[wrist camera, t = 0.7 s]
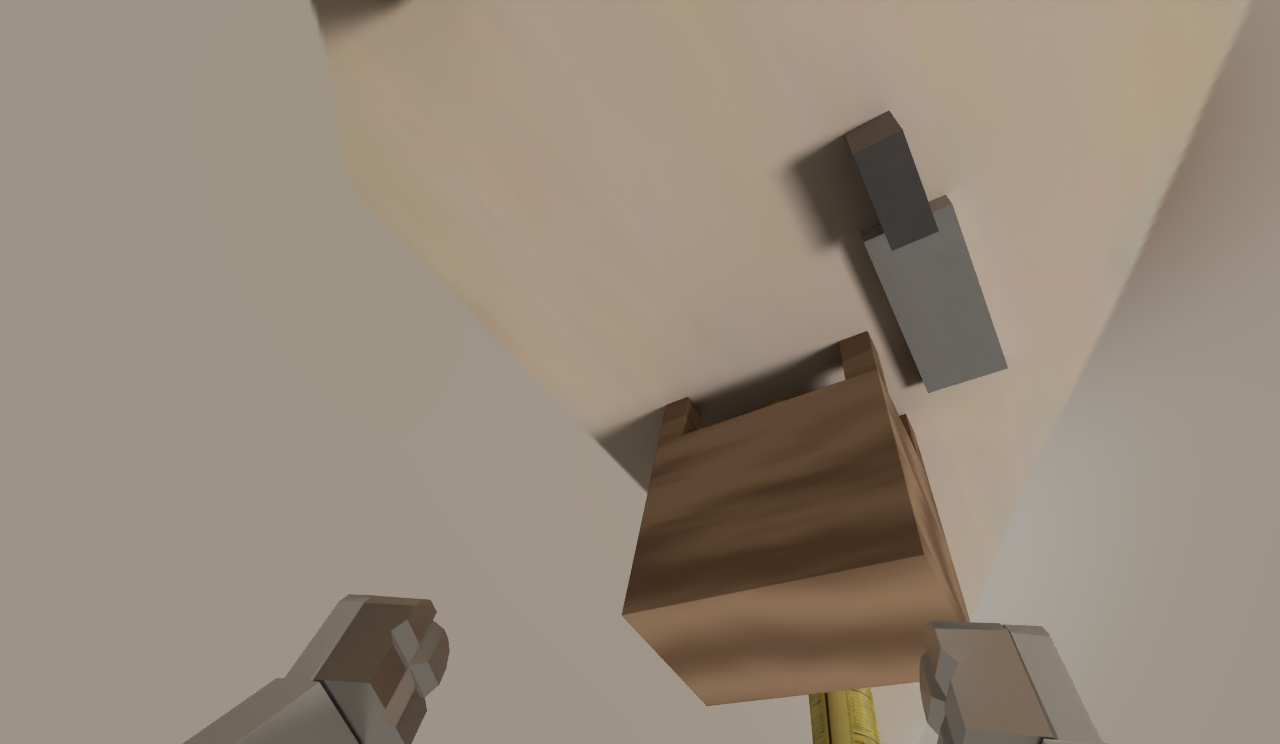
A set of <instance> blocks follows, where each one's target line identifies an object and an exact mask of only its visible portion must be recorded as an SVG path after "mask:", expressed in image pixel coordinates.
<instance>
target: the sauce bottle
mask: <svg viewBox="0 0 1280 744" xmlns="http://www.w3.org/2000/svg"><path fill="white" fill-rule="evenodd" d="M809 704H810V713H811V714H810V715H811V725H812V735H813V744H880V739H879V733H878V727H877V721H876V716H875V710H874V704H873V698H872V692H871V687H869V688H860V689H851V690H843V691H834V692H825V693H816V694H809Z"/></svg>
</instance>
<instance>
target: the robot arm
mask: <svg viewBox="0 0 1280 744" xmlns="http://www.w3.org/2000/svg"><path fill="white" fill-rule="evenodd" d="M436 613H437V612H436V610H435V608H434V606H433V604H432V602H431V600H427V599H412V598H399V597H398V598H397V597H384V596H372V595H352V594H349V595H347V596H346V597H345V598H343V599H342V600H340V601H339V602H338V604H337V605H336V606H335V608H334V609H333V611H332V612H331V614H330V615H329V616H328V618H327V619H326V621H325V622H324V623H323V625H322V626H321V628H320V629H319V630H318V632H317V633H316V635H315V636H314V638H313V639H312V640H311V642H310V643H309V644H308V646H307V647H306V649H305V650H304V651H303V653H302V654H301V656H300V657H299V658H298V660H297V661H296V663H295V664H294V666H293V667H292V668H291V670H290V671H289V672H288V674H287V675H286V677H285V678H276V679H275V680H274V681H272V682H270V683H269V684H268V685H266V686H265V687H263V688H262V689H260V690H259V691H258V692H256V693H255V694H253V695H252V696H251V697H249V698H247V699H246V700H245V701H243V702H242V703H241V704H239V705H237V706H236V707H235V708H233V709H232V710H230V711H229V712H227V713H226V714H225V715H223V716H222V717H220V718H219V719H217V720H216V721H214V722H213V723H212V724H210V725H209V726H207V727H206V728H205V729H203V730H202V731H200V732H199V733H197V734H196V735H194V736H193V737H192V738H190V739H189V740H187V741H186V742H184V743H183V744H411V743H412V741H413V739H414V737H415V735H416V733H417V730H418V728H419V726H420V724H421V722H422V720H423V718H424V716H425V714H426V712H427V708H426V702H425V696H427V695H428V694H429V693H430V692H431V691H433V690H434V689H435V688H436V687H437V686H438V685H439V684H440V681H441V679H442V677H443V675H444V672H445V670H446V666H447V661H448V656H449V642H448V637H447V635H446V632H445V630H444V629H443V628H442V627H441V626H439V625H438V624H437V623H436V622H434V621H433V619H434V617H435V614H436ZM924 639H925V643H926V646H927V650H928V651H927V652H926V653H925V654H923V655H922V656H921V660H920V669H919V676H920V691H921V697H922V703H923V708H924V712H925V716H926V720H927V723H928V724H929V725H930V726H931V728H932V729H933V730H934V731H935V732H936V733H937V734H938V735H939V737H938V742H937V744H1105V743H1103V741H1102V738H1101V736H1100V734H1099V732H1098V731H1097V728H1096V726H1095V724H1094V722H1093V720H1092V718H1091V716H1090V714H1089V712H1088V710H1087V708H1086V706H1085V704H1084V702H1083V700H1082V698H1081V696H1080V694H1079V692H1078V690H1077V688H1076V686H1075V684H1074V682H1073V680H1072V678H1071V676H1070V674H1069V672H1068V670H1067V668H1066V666H1065V664H1064V662H1063V660H1062V658H1061V656H1060V654H1059V652H1058V650H1057V648H1056V646H1055V644H1054V642H1053V640H1052V638H1051V636H1050V634H1049V633H1048V632H1047V631H1046V630H1045V629H1044V628H1043V627H1042V626H1027V625H1001V624H999V623H969V622H937V621H929V622H928V623H927V625H926V628H925V634H924Z"/></svg>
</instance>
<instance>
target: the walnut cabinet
mask: <svg viewBox="0 0 1280 744" xmlns="http://www.w3.org/2000/svg"><path fill="white" fill-rule="evenodd" d="M839 345H840V351H841V357H842V363H843V368H844V374H845V380H844V381H842V382H839V383H836V384H833V385H830V386H827V387H824V388H821V389H818V390H815V391H812V392H809V393H806V394H803V395H800V396H797V397H794V398H791V399H788V400H785V401H782V402H779V403H776V404H773V405H771V406H768V407H765V408H762V409H759V410H756V411H753V412H750V413H747V414H744V415H741V416H738V417H735V418H732V419H729V420H726V421H723V422H720V423H717V424H714V425H711V426H708V427H705V428H702V429H700V430H699V423H700V416H701V415H700V414H699V412H698V411H697V409H696V408H695V406H694V405H693V403H692V402H691V400H690V399H689V397H687V398H685V399H682V400H679V401H677V402H674V403H671V404H668V405H667V406H666V410H665V415H664V420H663V424H662V429H661V434H660V438H659V443H658V448H657V452H656V457H655V462H654V467H653V471H652V476H651V481H650V485H649V490H648V495H647V500H646V504H645V509H644V513H643V518H642V523H641V528H640V532H639V537H638V541H637V546H636V551H635V555H634V560H633V565H632V570H631V574H630V579H629V584H628V589H627V593H626V598H625V602H624V607H623V612H622V616H623V617H624V618H625V619H626V620H627V622H628V623H629V624H630V625H631V626H632V627H633V628H634V629H635V630H636V631H637V632H638V633H639V634H640V635H641V636H642V638H644V640H645V641H646V642H647V643H648V644H649V645H650V646H651V647H652V648H653V649H654V650H655V651H656V652H657V653H658V655H659V656H660V657H661V658H662V659H663V660H664V661H665V662H666V663H667V664H668V665H669V666H670V667H671V668H672V669H673V670H674V671H675V673H676V674H677V675H678V676H679V677H680V678H681V679H682V680H683V681H684V682H685V683H686V684H687V685H688V686H689V687H690V689H692V691H693V692H694V693H695V694H696V695H697V696H698V697H699V698H700V699H701V700H702V701H703V702H704V703H705V704H706V706H711V705H720V704H729V703H737V702H746V701H754V700H764V699H772V698H781V697H789V696H799V695H808V694H816V693H825V692H834V691H843V690H851V689H860V688H869V687H878V686H886V685H895V684H904V683H913V682H920V676H919V669H920V660H921V656H922V655H923V654H925V653H926V652H927V651H928V650H927V646H926V643H925V639H924V634H925V628H926V625H927V623H928V622H929V621H937V622H969V623H970V620H969V616H968V613H967V610H966V606H965V603H964V599H963V596H962V593H961V589H960V586H959V582H958V579H957V576H956V572H955V569H954V565H953V562H952V559H951V555H950V552H949V549H948V545H947V542H946V538H945V535H944V532H943V528H942V525H941V521H940V518H939V515H938V511H937V508H936V505H935V501H934V498H933V494H932V491H931V488H930V484H929V481H928V477H927V474H926V471H925V467H924V464H923V460H922V457H921V454H920V450H919V447H918V444H917V440H916V437H915V433H914V431H913V429H912V427H911V425H910V422H909V420H908V418H907V416H906V414H905V415H902V416H899V415H898V413H897V411H896V409H895V406H894V404H893V402H892V400H891V398H890V396H889V394H888V390H887V387H886V383H885V379H884V375H883V371H882V368H881V364H880V360H879V356H878V353H877V351H876V349H875V346H874V344H873V342H872V340H871V338H870V335H869V333H868V331H867V332H864V333H862V334H859V335H856V336H853V337H851V338H848V339H845V340H843V341H840V342H839Z"/></svg>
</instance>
